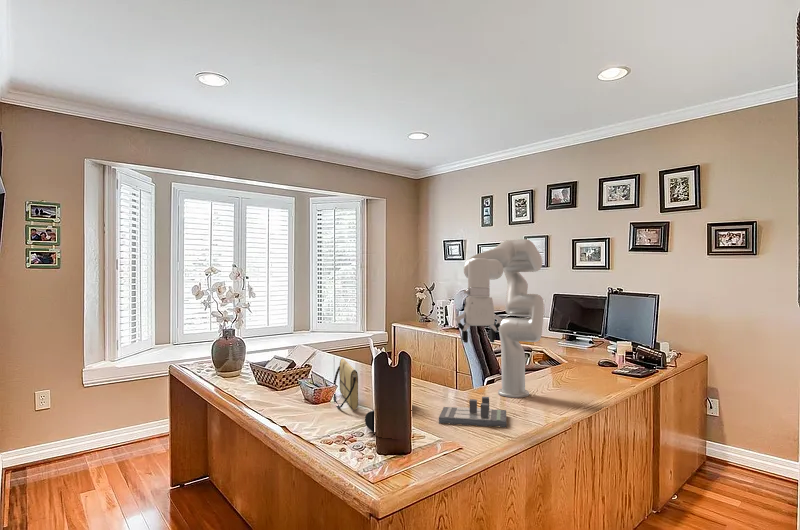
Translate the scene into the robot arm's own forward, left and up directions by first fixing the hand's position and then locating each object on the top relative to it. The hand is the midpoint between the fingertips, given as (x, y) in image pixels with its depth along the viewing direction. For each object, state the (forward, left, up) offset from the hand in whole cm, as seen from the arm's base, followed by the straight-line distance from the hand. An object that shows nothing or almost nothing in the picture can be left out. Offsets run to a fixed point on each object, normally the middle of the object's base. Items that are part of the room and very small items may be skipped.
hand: (478, 342), depth 163 cm
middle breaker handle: (+4, -2, -23) cm, 24 cm away
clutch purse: (-9, -53, -26) cm, 60 cm away
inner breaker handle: (-1, +2, -23) cm, 23 cm away
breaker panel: (+4, -2, -26) cm, 26 cm away
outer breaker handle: (+8, +2, -23) cm, 25 cm away
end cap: (+19, -30, -26) cm, 44 cm away
